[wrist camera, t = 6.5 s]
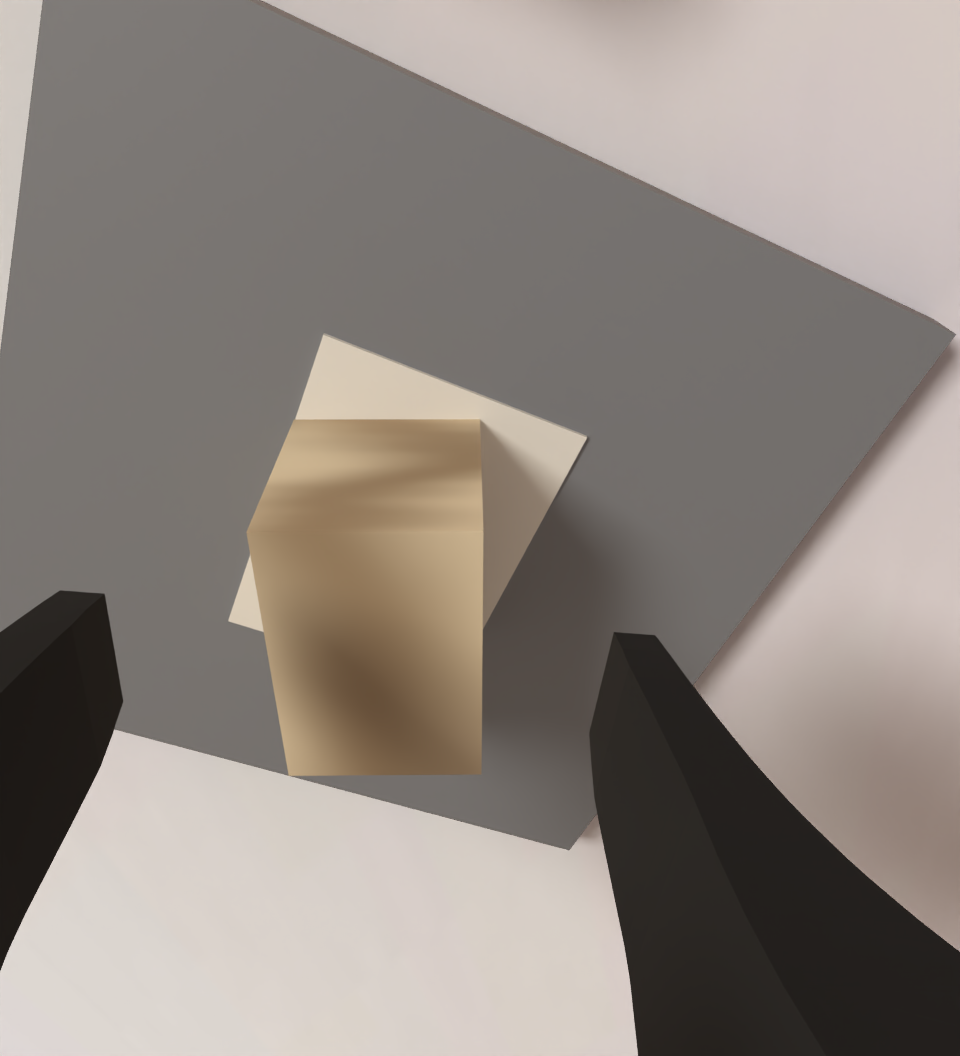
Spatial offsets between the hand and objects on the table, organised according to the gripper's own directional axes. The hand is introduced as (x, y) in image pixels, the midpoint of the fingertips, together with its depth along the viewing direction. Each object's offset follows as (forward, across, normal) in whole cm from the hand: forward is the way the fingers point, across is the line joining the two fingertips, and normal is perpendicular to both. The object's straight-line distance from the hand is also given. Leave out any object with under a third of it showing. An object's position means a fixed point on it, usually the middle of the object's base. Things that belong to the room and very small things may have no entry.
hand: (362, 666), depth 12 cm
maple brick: (+7, 0, +2) cm, 8 cm away
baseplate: (+8, 0, +2) cm, 9 cm away
